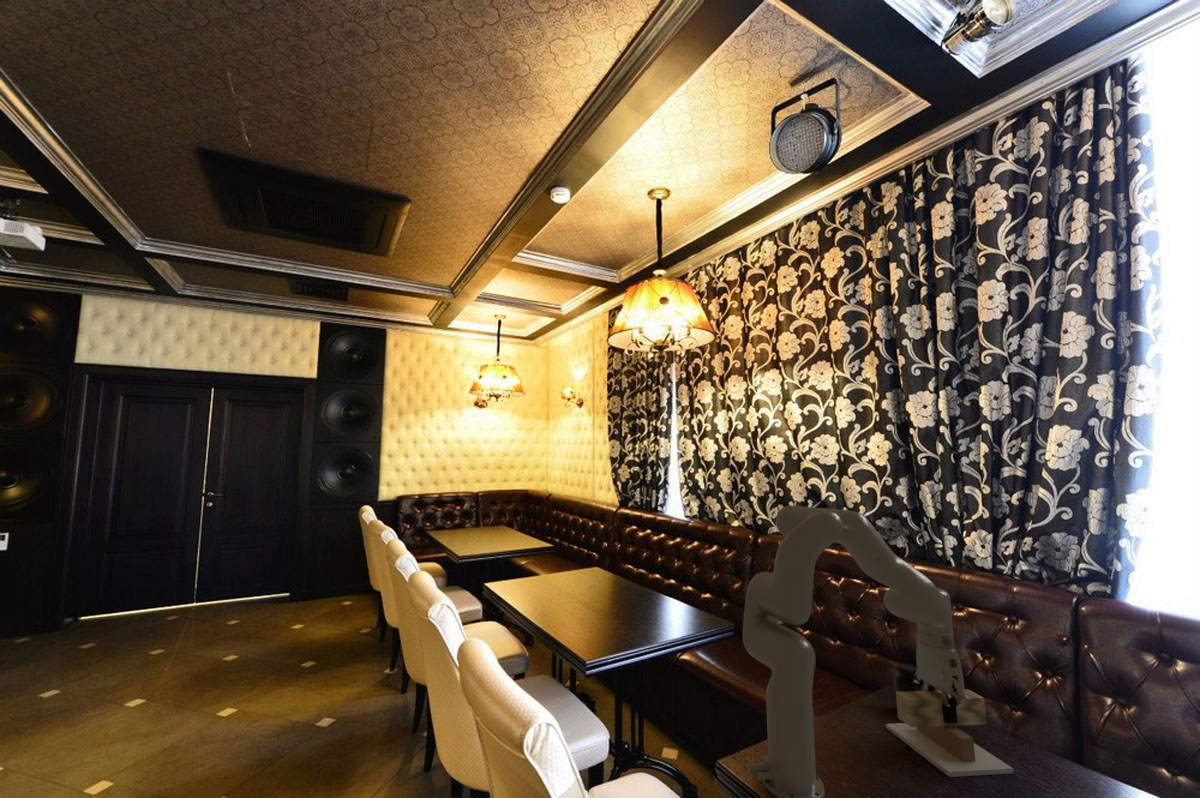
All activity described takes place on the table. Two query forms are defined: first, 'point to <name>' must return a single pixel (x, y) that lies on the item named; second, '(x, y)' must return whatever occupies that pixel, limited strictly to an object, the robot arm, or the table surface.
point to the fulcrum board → (948, 758)
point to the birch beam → (938, 709)
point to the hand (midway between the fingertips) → (941, 716)
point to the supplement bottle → (907, 679)
